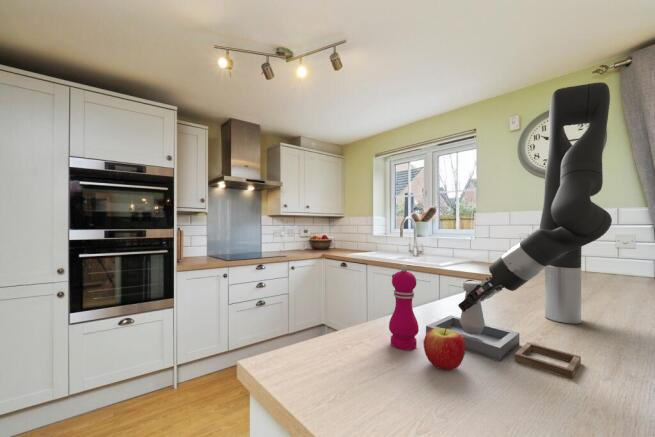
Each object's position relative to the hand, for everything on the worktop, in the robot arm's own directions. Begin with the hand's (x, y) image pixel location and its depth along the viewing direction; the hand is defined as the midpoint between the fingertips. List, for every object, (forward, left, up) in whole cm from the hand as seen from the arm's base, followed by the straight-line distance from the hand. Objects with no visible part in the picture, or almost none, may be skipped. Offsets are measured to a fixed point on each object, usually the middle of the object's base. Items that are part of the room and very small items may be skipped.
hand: (464, 307), depth 78 cm
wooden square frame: (-1, +18, -8) cm, 20 cm away
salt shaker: (0, +2, -6) cm, 6 cm away
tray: (0, +2, -8) cm, 9 cm away
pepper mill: (+16, -8, -9) cm, 20 cm away
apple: (+19, +4, -9) cm, 21 cm away
